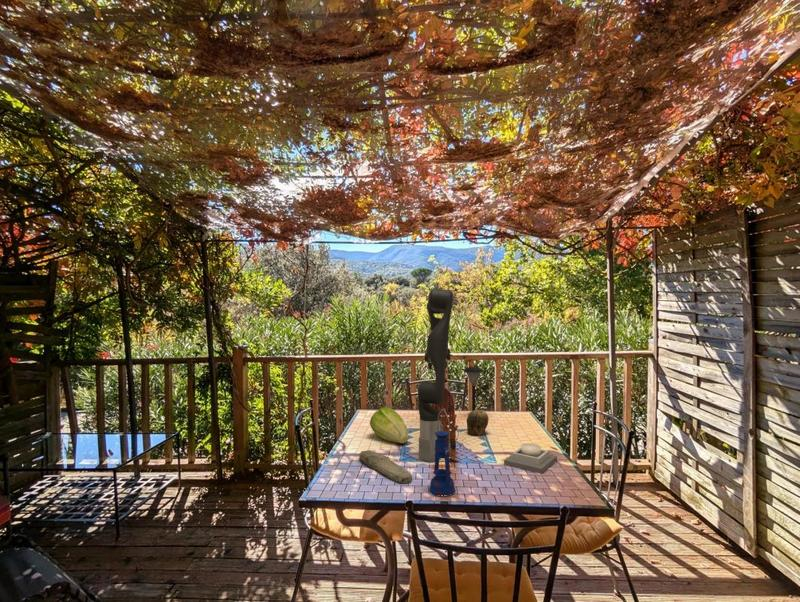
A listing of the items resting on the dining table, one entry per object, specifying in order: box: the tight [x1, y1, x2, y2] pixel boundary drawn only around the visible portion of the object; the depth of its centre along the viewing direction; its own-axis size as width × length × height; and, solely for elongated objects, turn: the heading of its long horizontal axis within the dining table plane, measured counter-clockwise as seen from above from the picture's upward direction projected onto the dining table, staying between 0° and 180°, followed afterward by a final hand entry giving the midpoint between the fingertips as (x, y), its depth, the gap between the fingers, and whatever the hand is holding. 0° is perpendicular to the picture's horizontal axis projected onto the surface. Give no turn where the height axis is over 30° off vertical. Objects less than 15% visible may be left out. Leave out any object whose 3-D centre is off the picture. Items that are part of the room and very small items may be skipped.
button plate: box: [503, 447, 558, 474], centre depth 193 cm, size 18×16×4 cm
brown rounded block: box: [466, 409, 489, 437], centre depth 233 cm, size 11×11×12 cm
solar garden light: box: [462, 366, 485, 411], centre depth 256 cm, size 12×12×30 cm
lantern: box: [428, 408, 456, 497], centre depth 165 cm, size 11×9×30 cm
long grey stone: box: [358, 450, 413, 485], centre depth 187 cm, size 35×5×10 cm
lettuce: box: [369, 406, 409, 444], centre depth 225 cm, size 15×24×16 cm
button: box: [520, 443, 542, 457], centre depth 193 cm, size 8×8×3 cm
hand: (437, 369), depth 240 cm, fingers open, 8 cm apart
